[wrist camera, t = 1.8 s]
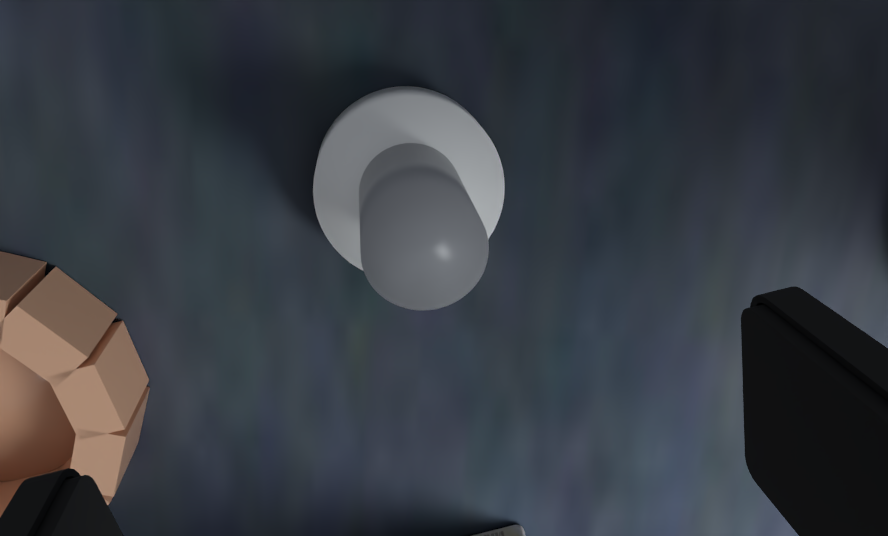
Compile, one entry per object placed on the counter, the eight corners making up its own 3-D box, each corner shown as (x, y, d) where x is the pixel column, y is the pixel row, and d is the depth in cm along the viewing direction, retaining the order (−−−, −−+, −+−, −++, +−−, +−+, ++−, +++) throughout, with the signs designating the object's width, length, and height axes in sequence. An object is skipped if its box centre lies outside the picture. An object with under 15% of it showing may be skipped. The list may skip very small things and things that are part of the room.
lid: (476, 67, 23) (524, 106, 16) (506, 237, 25) (558, 328, 19) (294, 108, 23) (270, 164, 16) (342, 275, 25) (338, 380, 19)
